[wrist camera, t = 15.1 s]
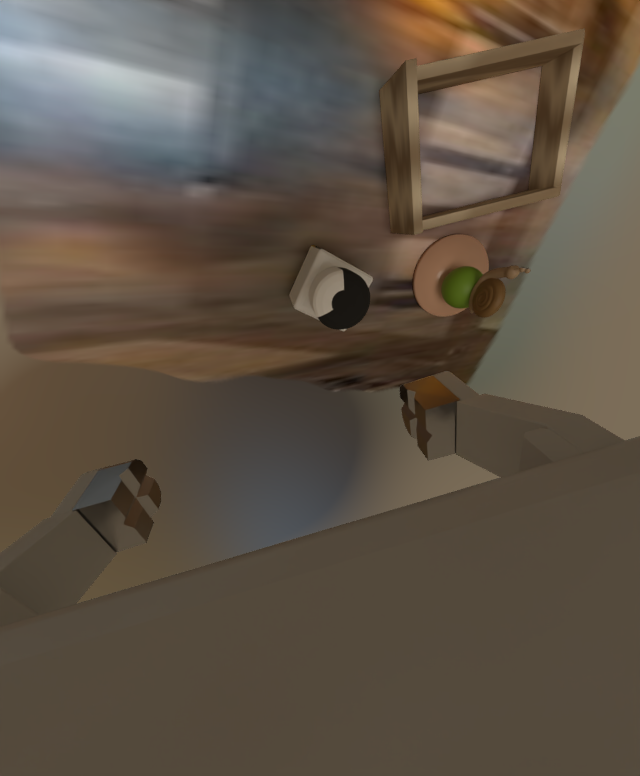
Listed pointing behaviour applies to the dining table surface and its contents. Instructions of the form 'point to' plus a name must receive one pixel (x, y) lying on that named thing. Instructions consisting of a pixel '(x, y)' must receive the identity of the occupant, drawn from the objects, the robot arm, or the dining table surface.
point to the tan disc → (445, 270)
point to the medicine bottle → (331, 290)
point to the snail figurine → (477, 288)
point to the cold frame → (410, 80)
